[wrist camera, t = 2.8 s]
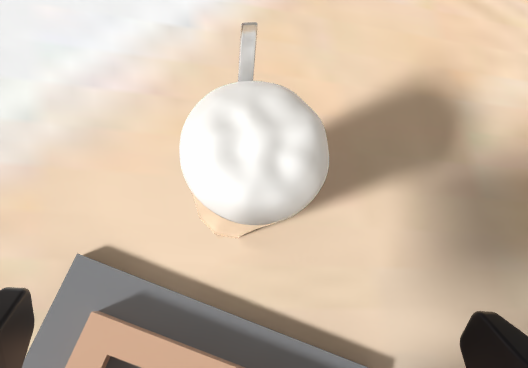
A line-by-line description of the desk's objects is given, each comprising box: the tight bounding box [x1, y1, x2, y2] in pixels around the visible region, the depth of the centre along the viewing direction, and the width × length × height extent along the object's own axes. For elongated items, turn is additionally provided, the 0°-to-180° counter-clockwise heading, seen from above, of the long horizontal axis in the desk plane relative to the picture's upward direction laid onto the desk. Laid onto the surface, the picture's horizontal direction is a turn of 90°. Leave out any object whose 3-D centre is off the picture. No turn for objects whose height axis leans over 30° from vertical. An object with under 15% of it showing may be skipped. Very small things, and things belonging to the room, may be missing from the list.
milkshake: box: [180, 22, 329, 238], centre depth 17 cm, size 5×5×10 cm
